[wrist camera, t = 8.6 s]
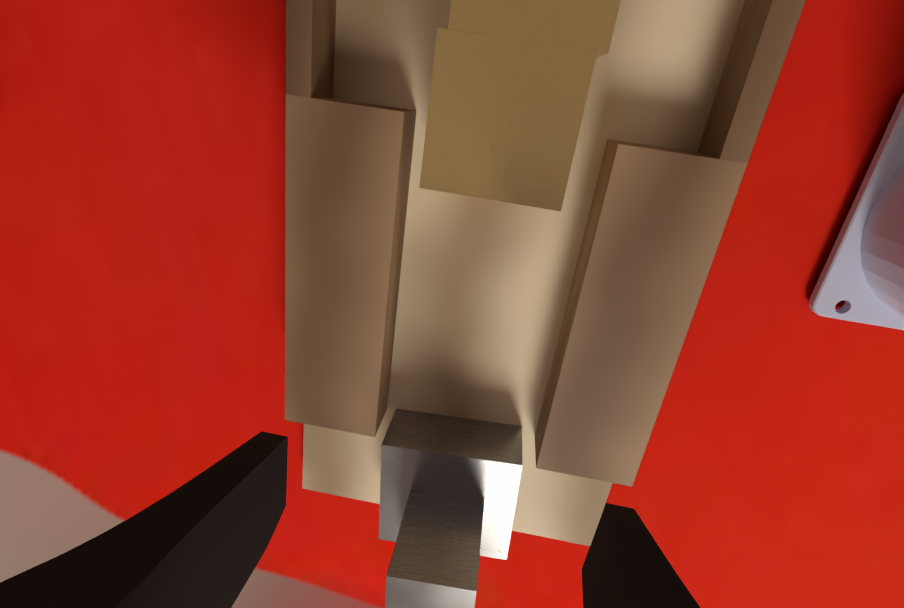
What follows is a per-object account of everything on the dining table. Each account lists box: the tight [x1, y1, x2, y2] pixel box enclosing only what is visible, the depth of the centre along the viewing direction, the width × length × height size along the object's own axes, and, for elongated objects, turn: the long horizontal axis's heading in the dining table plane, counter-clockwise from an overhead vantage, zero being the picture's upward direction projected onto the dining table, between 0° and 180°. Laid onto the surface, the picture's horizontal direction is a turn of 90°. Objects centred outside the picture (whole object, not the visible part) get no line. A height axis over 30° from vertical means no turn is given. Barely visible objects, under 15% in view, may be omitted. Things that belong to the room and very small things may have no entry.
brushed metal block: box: [379, 409, 522, 608], centre depth 20 cm, size 6×5×6 cm
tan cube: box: [419, 28, 598, 211], centre depth 15 cm, size 4×4×4 cm
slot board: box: [285, 0, 806, 546], centre depth 18 cm, size 14×28×3 cm, turn 172°
